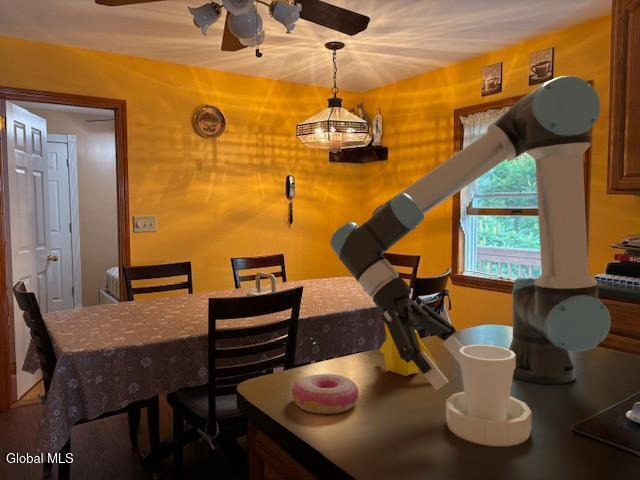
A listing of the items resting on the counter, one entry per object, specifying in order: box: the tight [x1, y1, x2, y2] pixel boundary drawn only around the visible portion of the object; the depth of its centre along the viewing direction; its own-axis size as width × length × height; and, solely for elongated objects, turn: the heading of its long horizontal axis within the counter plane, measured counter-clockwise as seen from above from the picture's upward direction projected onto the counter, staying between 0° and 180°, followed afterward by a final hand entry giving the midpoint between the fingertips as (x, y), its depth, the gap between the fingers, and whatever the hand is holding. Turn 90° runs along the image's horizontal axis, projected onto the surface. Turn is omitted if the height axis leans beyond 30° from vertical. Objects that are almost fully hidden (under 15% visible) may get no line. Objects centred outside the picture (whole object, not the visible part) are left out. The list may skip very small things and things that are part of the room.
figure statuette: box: [379, 322, 438, 377], centre depth 114 cm, size 18×8×22 cm, turn 39°
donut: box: [291, 373, 360, 415], centre depth 96 cm, size 14×13×5 cm
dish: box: [445, 391, 533, 448], centre depth 85 cm, size 14×14×4 cm
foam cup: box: [458, 344, 516, 421], centre depth 85 cm, size 10×9×13 cm
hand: (457, 375), depth 88 cm, fingers open, 13 cm apart
